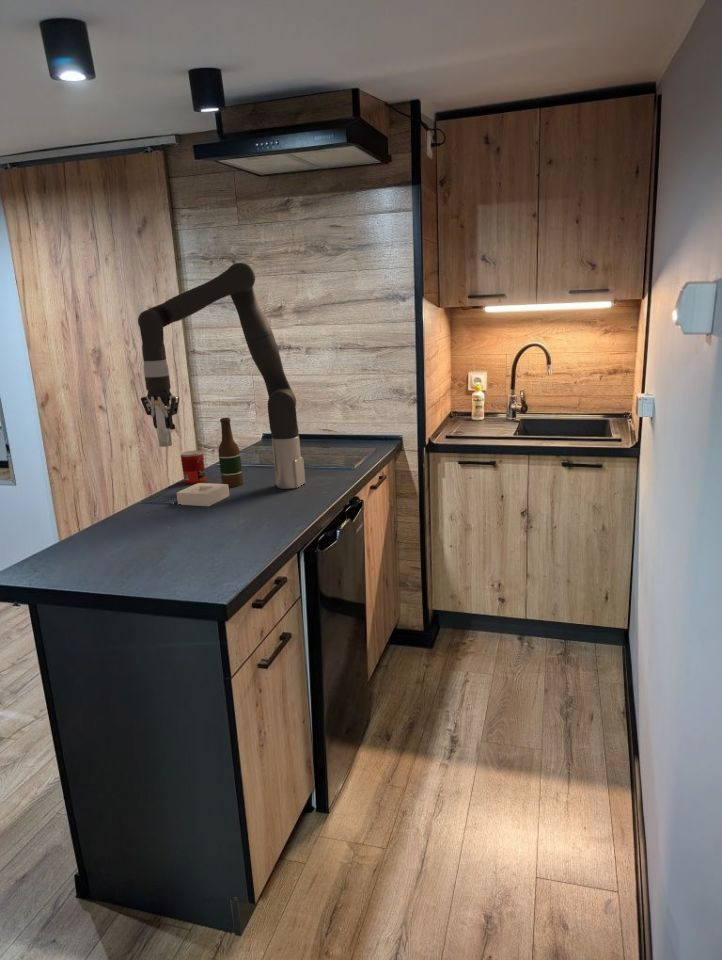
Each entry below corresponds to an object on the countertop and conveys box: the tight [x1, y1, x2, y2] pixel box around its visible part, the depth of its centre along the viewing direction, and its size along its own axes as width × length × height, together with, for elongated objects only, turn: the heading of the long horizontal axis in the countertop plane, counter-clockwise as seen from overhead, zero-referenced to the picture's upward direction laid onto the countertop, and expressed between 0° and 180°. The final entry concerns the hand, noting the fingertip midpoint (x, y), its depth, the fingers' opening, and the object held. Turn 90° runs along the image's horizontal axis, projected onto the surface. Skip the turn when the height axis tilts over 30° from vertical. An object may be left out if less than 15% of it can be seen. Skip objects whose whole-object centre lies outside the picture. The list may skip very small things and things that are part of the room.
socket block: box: [176, 482, 230, 507], centre depth 223 cm, size 12×12×4 cm
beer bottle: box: [217, 417, 244, 488], centre depth 238 cm, size 8×8×24 cm
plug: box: [154, 400, 173, 448], centre depth 218 cm, size 4×4×15 cm
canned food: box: [180, 450, 207, 485], centre depth 247 cm, size 8×8×11 cm
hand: (163, 427), depth 218 cm, fingers closed on plug, 4 cm apart
